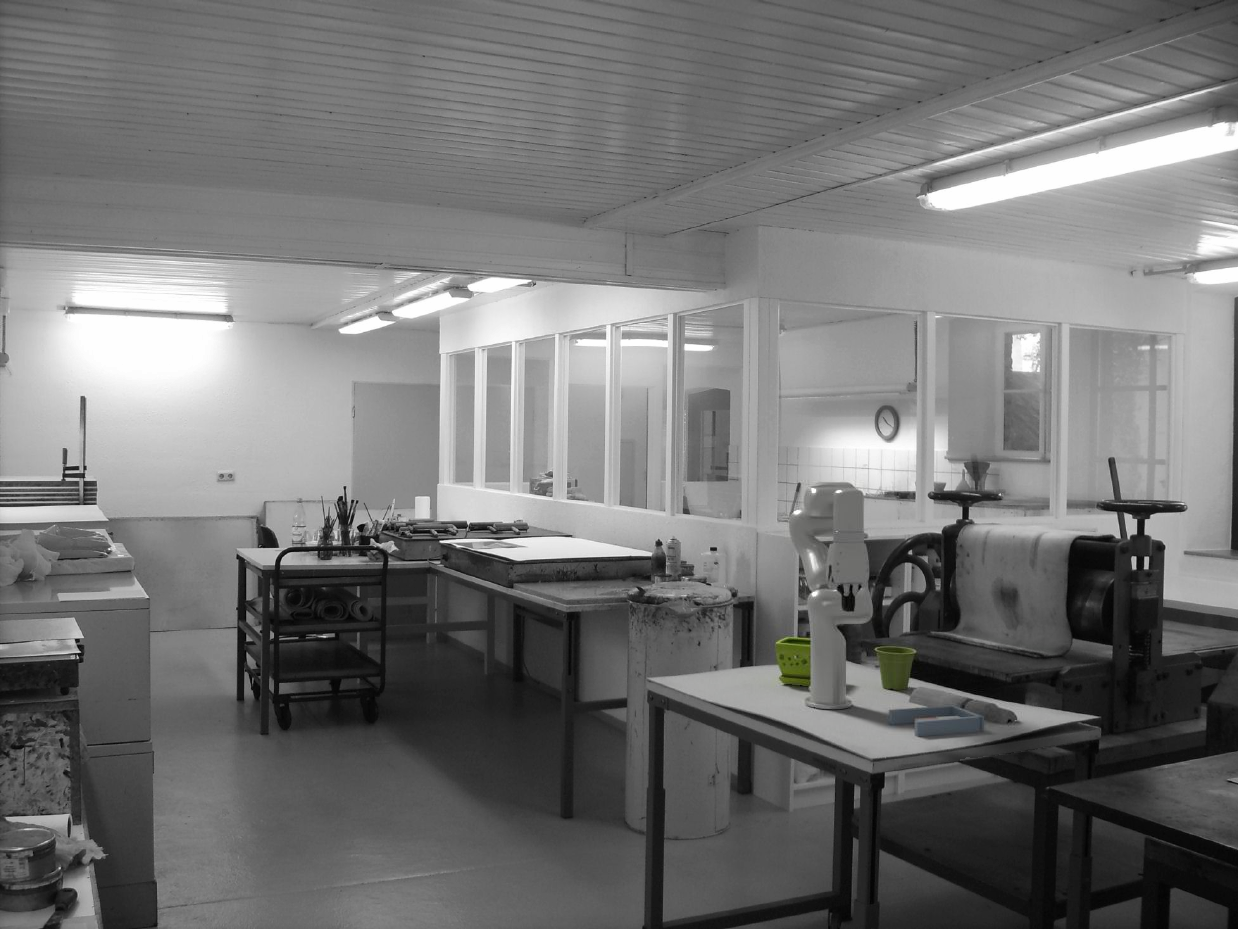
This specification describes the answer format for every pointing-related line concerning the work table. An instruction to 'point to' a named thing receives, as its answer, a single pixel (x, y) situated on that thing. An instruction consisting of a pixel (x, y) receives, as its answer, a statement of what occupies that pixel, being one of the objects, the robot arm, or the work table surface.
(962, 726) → the box
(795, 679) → the flower pot
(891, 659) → the plant pot
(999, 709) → the mechanical component
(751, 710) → the work table surface
